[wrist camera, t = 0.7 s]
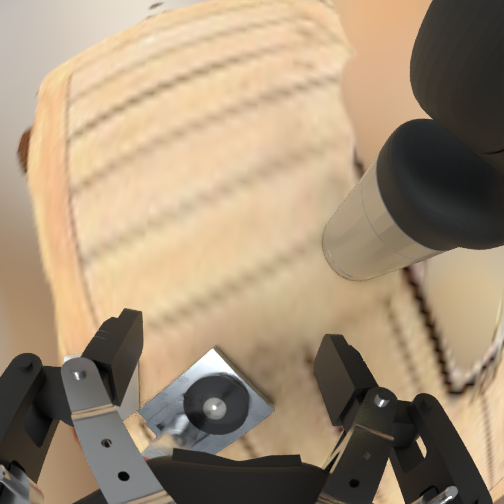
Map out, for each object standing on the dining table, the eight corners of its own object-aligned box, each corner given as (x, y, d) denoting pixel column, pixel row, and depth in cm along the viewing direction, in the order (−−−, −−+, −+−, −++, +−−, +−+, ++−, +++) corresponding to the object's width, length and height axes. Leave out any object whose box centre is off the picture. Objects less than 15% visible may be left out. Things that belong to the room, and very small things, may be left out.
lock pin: (183, 403, 27) (135, 458, 14) (211, 430, 26) (182, 499, 13) (158, 422, 27) (103, 477, 13) (185, 449, 26) (146, 515, 12)
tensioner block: (215, 345, 31) (208, 351, 26) (273, 403, 29) (275, 418, 25) (145, 405, 29) (129, 417, 25) (198, 458, 28) (190, 476, 23)
